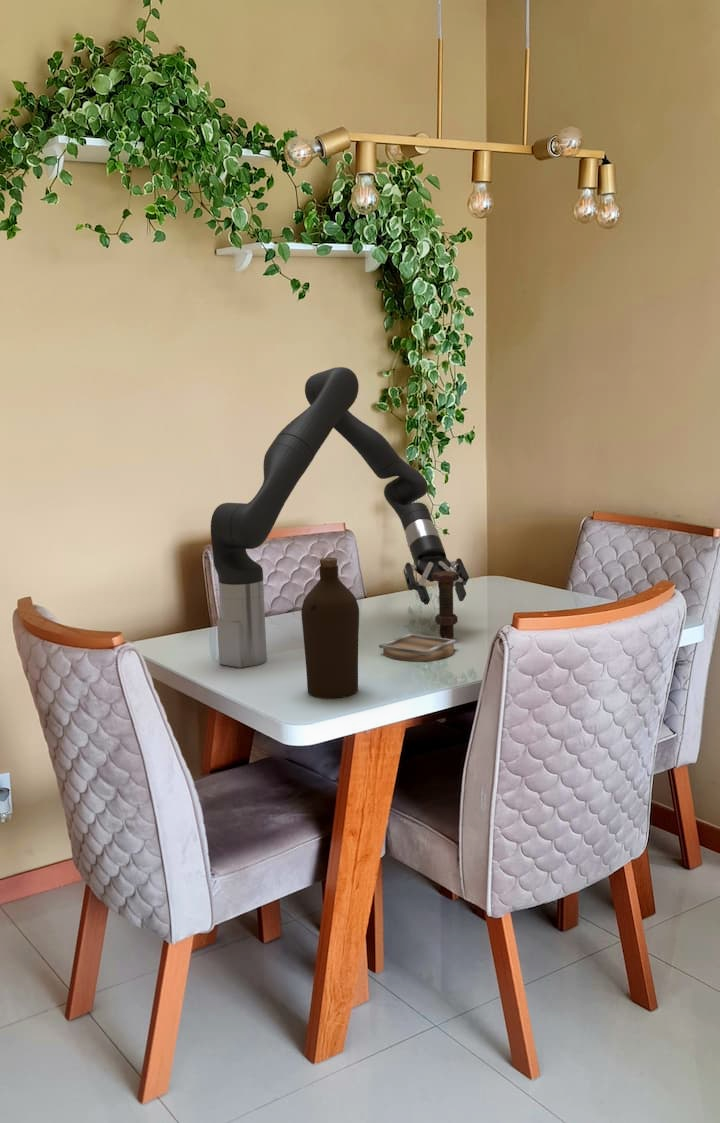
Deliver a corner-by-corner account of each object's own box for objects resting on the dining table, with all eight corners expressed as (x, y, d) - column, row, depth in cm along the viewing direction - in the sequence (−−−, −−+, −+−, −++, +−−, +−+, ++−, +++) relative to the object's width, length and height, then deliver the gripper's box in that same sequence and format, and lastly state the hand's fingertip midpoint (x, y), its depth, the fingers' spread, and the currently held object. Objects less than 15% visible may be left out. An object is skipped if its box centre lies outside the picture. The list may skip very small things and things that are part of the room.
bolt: (459, 636, 224) (458, 570, 221) (459, 641, 219) (458, 574, 216) (433, 636, 224) (432, 571, 222) (433, 641, 219) (432, 575, 217)
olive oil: (359, 699, 179) (355, 563, 175) (300, 699, 179) (295, 564, 175) (363, 682, 189) (359, 553, 185) (308, 683, 190) (303, 554, 186)
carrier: (429, 664, 200) (429, 654, 200) (369, 655, 209) (369, 645, 209) (466, 648, 212) (466, 639, 212) (408, 640, 221) (408, 631, 221)
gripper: (399, 535, 225) (419, 594, 216) (457, 531, 229) (479, 588, 220) (392, 555, 230) (411, 613, 221) (448, 550, 235) (469, 607, 226)
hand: (445, 600), depth 221 cm, fingers open, 8 cm apart
